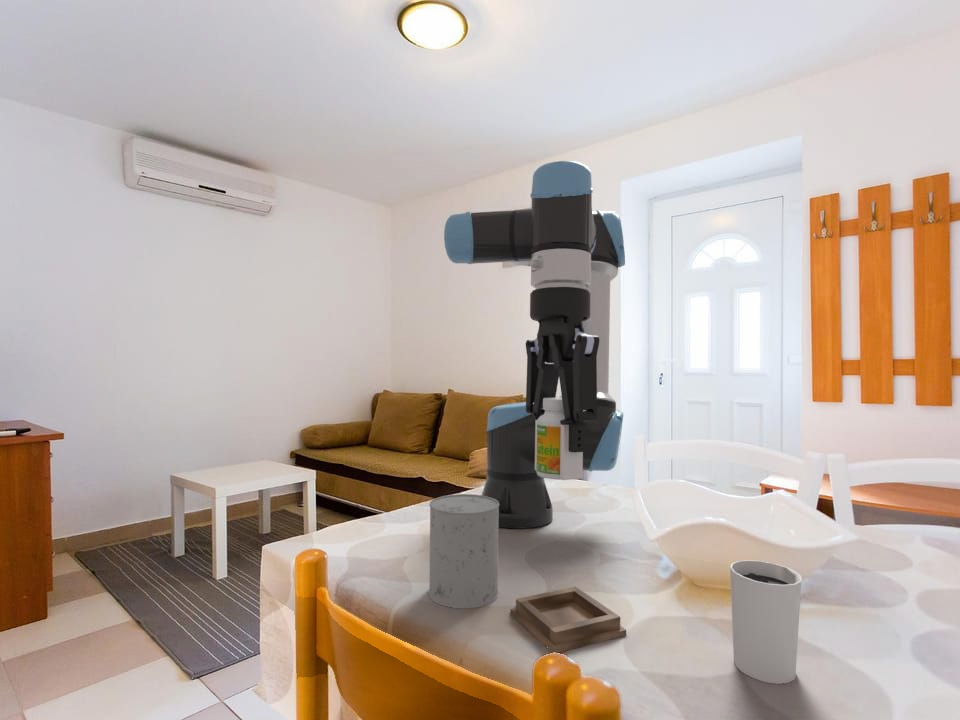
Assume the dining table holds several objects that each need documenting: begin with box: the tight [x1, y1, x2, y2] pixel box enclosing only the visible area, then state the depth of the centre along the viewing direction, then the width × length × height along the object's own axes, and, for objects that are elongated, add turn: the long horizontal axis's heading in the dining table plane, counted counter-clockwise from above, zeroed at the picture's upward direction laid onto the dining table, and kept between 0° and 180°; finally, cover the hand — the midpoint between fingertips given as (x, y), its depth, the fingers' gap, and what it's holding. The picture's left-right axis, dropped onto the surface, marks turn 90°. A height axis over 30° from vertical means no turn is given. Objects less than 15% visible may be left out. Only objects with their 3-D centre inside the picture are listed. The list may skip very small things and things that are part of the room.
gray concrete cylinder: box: [428, 493, 499, 610], centre depth 73 cm, size 10×10×12 cm
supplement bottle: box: [536, 397, 565, 481], centre depth 67 cm, size 5×5×10 cm
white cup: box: [729, 559, 803, 685], centre depth 56 cm, size 7×7×10 cm
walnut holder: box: [509, 586, 627, 654], centre depth 65 cm, size 10×10×2 cm
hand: (557, 473), depth 67 cm, fingers closed on supplement bottle, 5 cm apart
